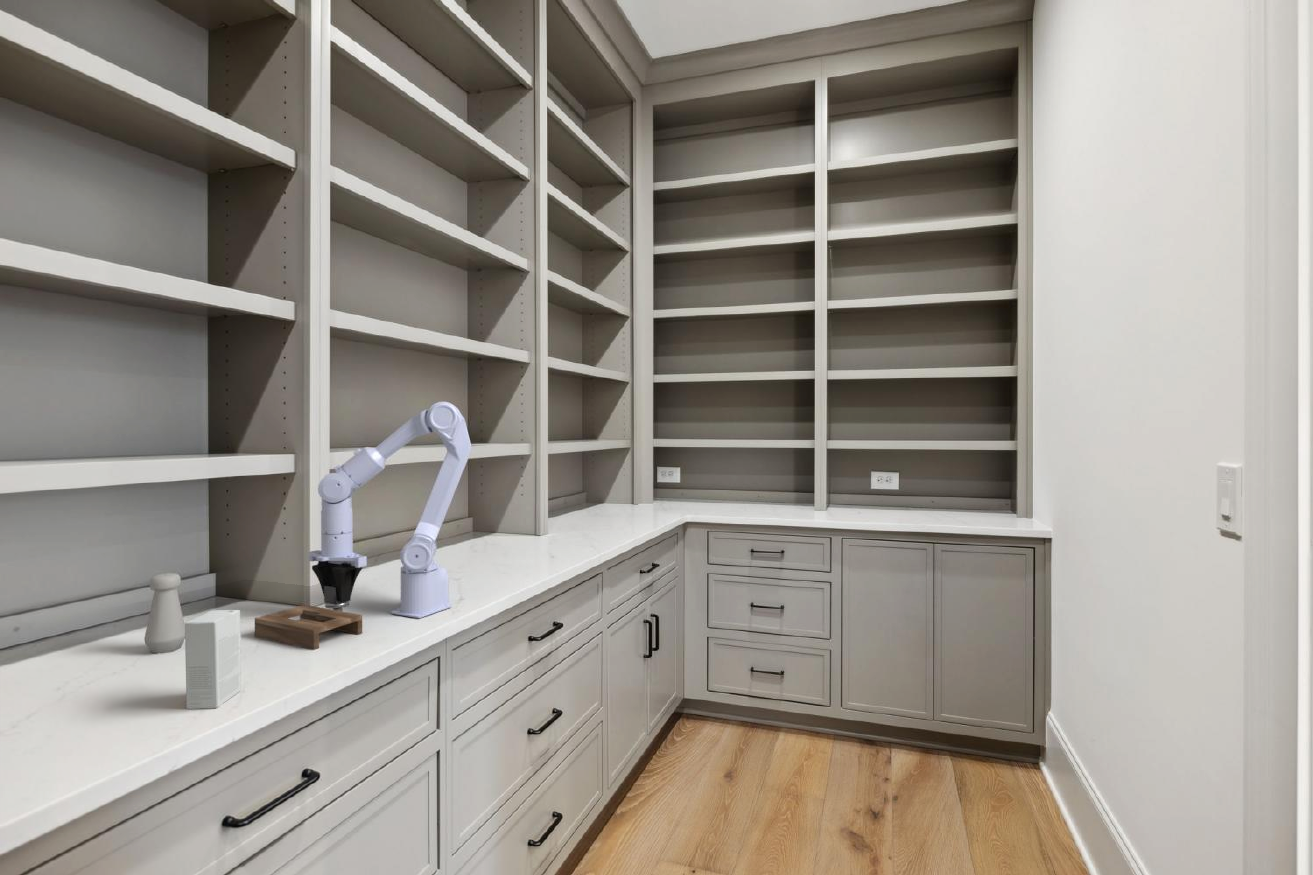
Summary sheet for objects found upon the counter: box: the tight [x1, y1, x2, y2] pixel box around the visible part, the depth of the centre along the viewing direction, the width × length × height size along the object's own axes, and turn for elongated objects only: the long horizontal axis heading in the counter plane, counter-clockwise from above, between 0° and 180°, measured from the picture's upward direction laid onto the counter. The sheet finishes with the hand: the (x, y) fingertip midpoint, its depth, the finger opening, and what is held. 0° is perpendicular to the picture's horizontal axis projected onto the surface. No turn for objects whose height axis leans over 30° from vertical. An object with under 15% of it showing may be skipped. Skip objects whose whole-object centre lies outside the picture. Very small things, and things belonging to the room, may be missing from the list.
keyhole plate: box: [254, 604, 363, 650], centre depth 120 cm, size 10×16×3 cm, turn 65°
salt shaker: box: [143, 572, 185, 654], centre depth 111 cm, size 6×6×13 cm
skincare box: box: [184, 609, 242, 710], centre depth 91 cm, size 6×4×12 cm
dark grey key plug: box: [323, 583, 351, 611], centre depth 131 cm, size 4×4×7 cm
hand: (337, 599), depth 131 cm, fingers open, 4 cm apart
